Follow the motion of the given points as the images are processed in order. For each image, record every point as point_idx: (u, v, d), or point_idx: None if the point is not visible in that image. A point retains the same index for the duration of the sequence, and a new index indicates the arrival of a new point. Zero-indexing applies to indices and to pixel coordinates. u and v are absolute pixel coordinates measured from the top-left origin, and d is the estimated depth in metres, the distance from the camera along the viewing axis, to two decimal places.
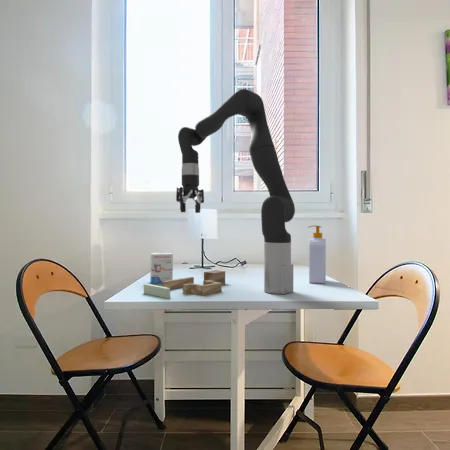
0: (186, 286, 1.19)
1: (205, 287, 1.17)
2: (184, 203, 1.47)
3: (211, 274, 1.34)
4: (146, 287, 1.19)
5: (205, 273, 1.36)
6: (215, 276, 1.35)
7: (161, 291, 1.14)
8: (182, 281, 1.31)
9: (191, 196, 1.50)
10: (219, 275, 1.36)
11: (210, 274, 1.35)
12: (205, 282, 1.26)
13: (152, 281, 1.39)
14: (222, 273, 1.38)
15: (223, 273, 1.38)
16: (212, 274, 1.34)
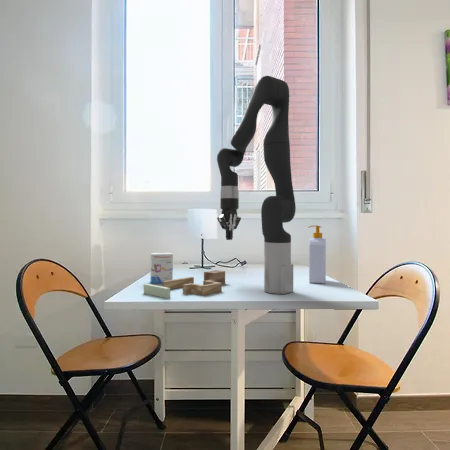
0: (186, 286, 1.19)
1: (205, 287, 1.17)
2: (230, 231, 1.43)
3: (211, 274, 1.34)
4: (146, 287, 1.19)
5: (205, 273, 1.36)
6: (215, 276, 1.35)
7: (161, 291, 1.14)
8: (182, 281, 1.31)
9: None
10: (219, 275, 1.36)
11: (210, 274, 1.35)
12: (205, 282, 1.26)
13: (152, 281, 1.39)
14: (222, 273, 1.38)
15: (223, 273, 1.38)
16: (212, 274, 1.34)
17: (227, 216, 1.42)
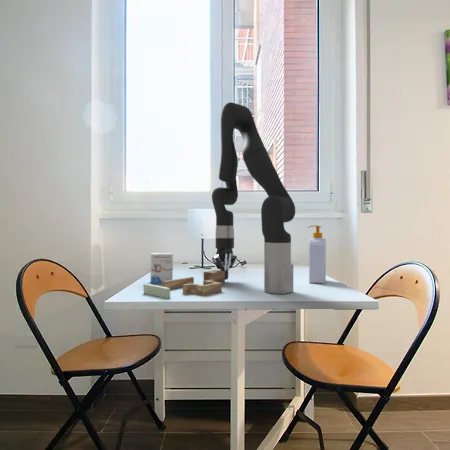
0: (186, 286, 1.19)
1: (205, 287, 1.17)
2: (225, 271, 1.41)
3: (211, 274, 1.34)
4: (146, 287, 1.19)
5: (205, 273, 1.36)
6: (215, 276, 1.35)
7: (161, 291, 1.14)
8: (182, 281, 1.31)
9: None
10: (218, 275, 1.36)
11: (210, 274, 1.34)
12: (205, 282, 1.26)
13: (152, 281, 1.39)
14: (222, 273, 1.38)
15: (223, 273, 1.38)
16: (212, 274, 1.34)
17: (222, 256, 1.40)
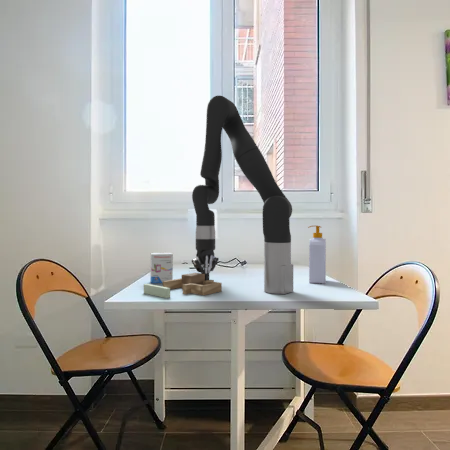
0: (186, 286, 1.19)
1: (205, 287, 1.17)
2: (206, 274, 1.33)
3: (189, 277, 1.26)
4: (146, 287, 1.19)
5: (183, 276, 1.28)
6: (193, 279, 1.26)
7: (161, 291, 1.14)
8: None
9: None
10: (197, 278, 1.28)
11: (188, 277, 1.26)
12: (205, 282, 1.26)
13: (152, 281, 1.39)
14: (201, 276, 1.29)
15: (202, 276, 1.30)
16: (190, 277, 1.26)
17: (202, 258, 1.31)
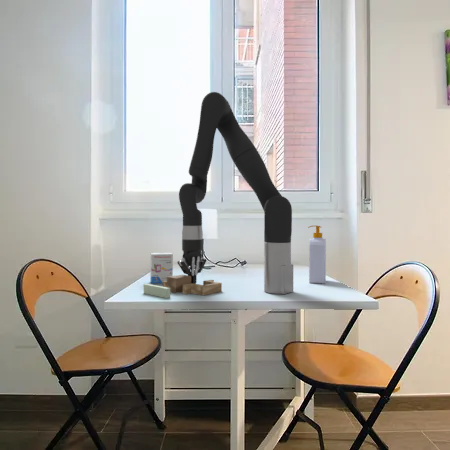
0: (186, 286, 1.19)
1: (205, 287, 1.17)
2: (193, 275, 1.28)
3: (173, 279, 1.21)
4: (146, 287, 1.19)
5: (168, 278, 1.23)
6: (178, 281, 1.21)
7: (161, 291, 1.14)
8: None
9: None
10: (183, 280, 1.23)
11: (173, 279, 1.21)
12: (205, 282, 1.26)
13: (152, 281, 1.39)
14: (187, 278, 1.24)
15: (188, 278, 1.25)
16: (174, 279, 1.21)
17: (189, 260, 1.26)
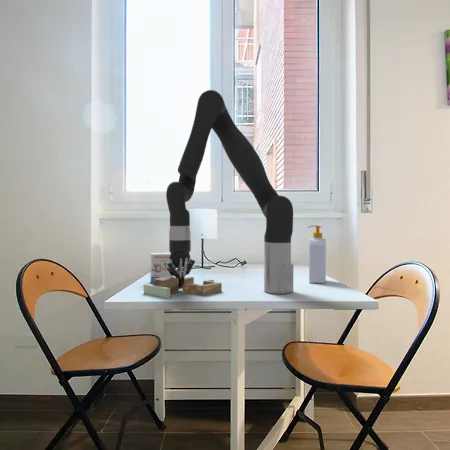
0: (186, 286, 1.19)
1: (205, 287, 1.17)
2: (180, 278, 1.23)
3: (160, 282, 1.16)
4: (146, 287, 1.19)
5: (154, 280, 1.18)
6: (165, 284, 1.17)
7: (161, 291, 1.14)
8: None
9: None
10: (170, 283, 1.18)
11: (159, 282, 1.17)
12: (205, 282, 1.26)
13: (152, 281, 1.39)
14: (174, 280, 1.20)
15: (176, 280, 1.20)
16: (161, 282, 1.16)
17: (176, 261, 1.22)
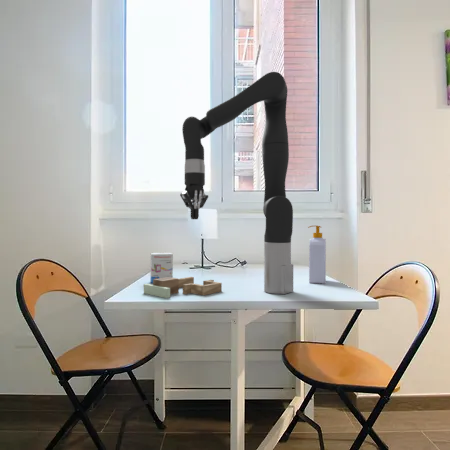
0: (186, 286, 1.19)
1: (205, 287, 1.17)
2: (195, 209, 1.30)
3: (160, 282, 1.16)
4: (146, 287, 1.19)
5: (154, 281, 1.18)
6: (165, 284, 1.17)
7: (161, 291, 1.14)
8: (182, 281, 1.31)
9: None
10: (170, 283, 1.18)
11: (159, 282, 1.17)
12: (205, 282, 1.26)
13: (152, 281, 1.39)
14: (174, 281, 1.20)
15: (176, 281, 1.20)
16: (161, 282, 1.16)
17: (191, 193, 1.28)
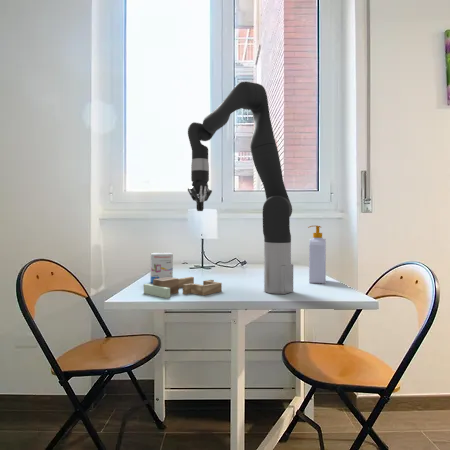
0: (186, 286, 1.19)
1: (205, 287, 1.17)
2: (200, 202, 1.49)
3: (160, 282, 1.16)
4: (146, 287, 1.19)
5: (154, 281, 1.18)
6: (165, 284, 1.17)
7: (161, 291, 1.14)
8: (182, 281, 1.31)
9: None
10: (170, 283, 1.18)
11: (159, 282, 1.17)
12: (205, 282, 1.26)
13: (152, 281, 1.39)
14: (174, 281, 1.20)
15: (176, 281, 1.20)
16: (161, 282, 1.16)
17: (197, 188, 1.47)
